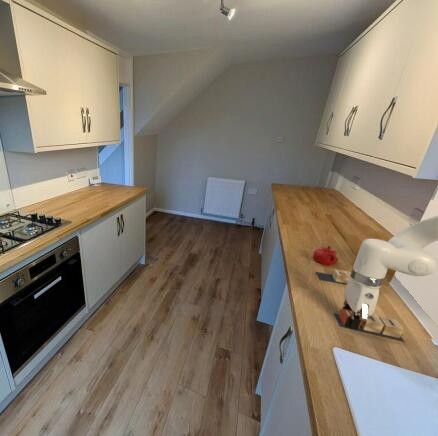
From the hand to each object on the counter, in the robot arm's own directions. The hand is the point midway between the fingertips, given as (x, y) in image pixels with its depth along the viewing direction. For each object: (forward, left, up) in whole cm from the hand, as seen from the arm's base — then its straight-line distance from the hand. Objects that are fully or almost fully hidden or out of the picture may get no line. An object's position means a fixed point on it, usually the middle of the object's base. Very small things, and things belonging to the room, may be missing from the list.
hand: (348, 321), depth 81 cm
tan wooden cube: (-6, 0, 0) cm, 6 cm away
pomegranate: (-4, -45, -1) cm, 45 cm away
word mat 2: (-5, 0, -1) cm, 5 cm away
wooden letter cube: (-11, -29, 0) cm, 31 cm away
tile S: (0, 0, 0) cm, 0 cm away
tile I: (-11, 0, 0) cm, 11 cm away
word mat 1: (-8, -29, -1) cm, 30 cm away
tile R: (-6, -29, 0) cm, 30 cm away
